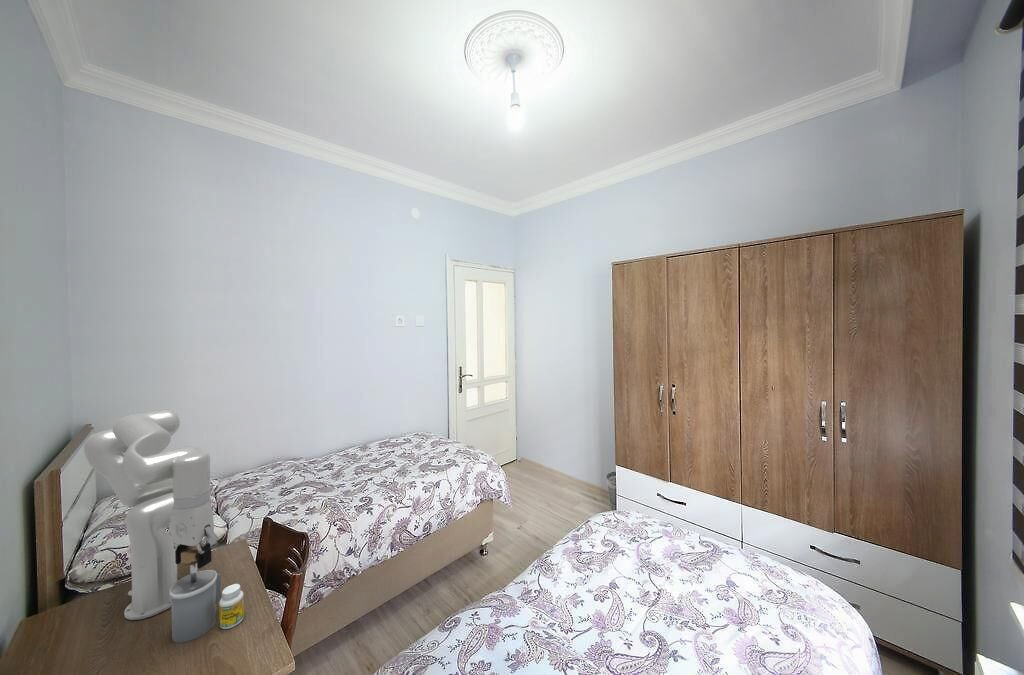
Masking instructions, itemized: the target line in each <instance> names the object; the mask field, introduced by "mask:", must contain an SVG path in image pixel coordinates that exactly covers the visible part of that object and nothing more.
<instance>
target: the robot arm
mask: <svg viewBox="0 0 1024 675" xmlns="http://www.w3.org/2000/svg"><path fill="white" fill-rule="evenodd" d="M180 424H181V420H180V417H179V415H178V414H177V413H176V412H175V411H173V410H170V409H160V410H153V411H147V412H140V413H139V412H138V413H134V414H131V415H126V416H123V417H121V418H120V419H118V420H117V421H115V423H114V424H113V427H112V428H109V429H106V430H102V431H99V432H96V433H94V434H92V435H90V436H89V437H88V438H87V439H86V440H85V442H84V445H83V452H84V455H85V459H86V460H87V462H88V464H89V465H90V466H91V468H93V469H94V470H95V471H96V472H97V473H98V474H100V475H101V476H103V477H104V478H105V479H106V480H107V482H108V483H109V485H110V486H111V489H112V490H113V492H114V493H115V495H116V497H117V499H118V500H119V501H120V503H121V504H122V505H123V506H124V507H126V508H131V509H130V510H128V512H127V513H126V515H125V519H124V520H125V527H126V531H127V535H128V538H129V546H130V564H131V566H130V567H131V589H130V590H129V591H128V593H127V595H128V596H131V602H130V603H129V604H128V605H127V606H126V608H125V609H124V612H123V613H124V618H125V619H126V620H129V621H137V620H144V619H146V618H147V619H148V618H150V617H153V616H156V615H158V614H161V613H162V612H165V611H166V610H168V609H170V608H171V597H170V588H171V587H172V586H173V585H174V584H175V583H176V582H177V581H178V565H180V564H181V551H182V550H184V549H185V548H187V547H189V546H197V549H198V551H199V554H197V569H201V568H203V567H205V566H207V565H208V564H210V563H211V562H212V549H213V548H214V546H215V545H216V543H217V541H218V540H219V537H218V535H217V534H216V533H215V522H214V521H215V520H214V512H213V506H212V503H211V499H212V498H211V497H212V496H211V456H210V454H209V453H208V452H206V451H203V450H201V449H200V448H199V447H197V446H194V445H193V446H185V447H181V448H176V449H170V450H167V451H164V450H166V449H167V447H168V446H169V444H170V443H171V438H172V437H173V435H175V433H176V432H178V430H179V428H180ZM163 451H164V452H163ZM166 529H168V531H166ZM204 542H205V546H204V547H203V546H202V544H204Z"/></svg>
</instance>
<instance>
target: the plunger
mask: <svg viewBox="0 0 1024 675" xmlns="http://www.w3.org/2000/svg"><path fill="white" fill-rule="evenodd" d="M205 545H206V543H202V546H203V547H204V546H205ZM197 554H199V551H198V549H197V546H189V547H187V548H185V549H184V550H182V551H181V563H180V565H181V566H183V567H188V566H189V573H190V574H189V575H190V582H191V583H194V582H196V581H197V572H198V568H197Z"/></svg>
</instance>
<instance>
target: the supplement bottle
mask: <svg viewBox="0 0 1024 675" xmlns="http://www.w3.org/2000/svg"><path fill="white" fill-rule="evenodd" d="M244 598H245V597H244V591H243V590H241V585H240V584H239V583H233V584H231V585H228V586H226V587H224V589H223V590H221V600H220V602H218V604H219V605H218V606H219V607H218V608H219V627H220V628H221V629H223V630H229V629H232V628H234V627H235V626H238V625H239V624H240V623H241V622H242V621H243V619H244V618H245V600H244Z"/></svg>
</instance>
